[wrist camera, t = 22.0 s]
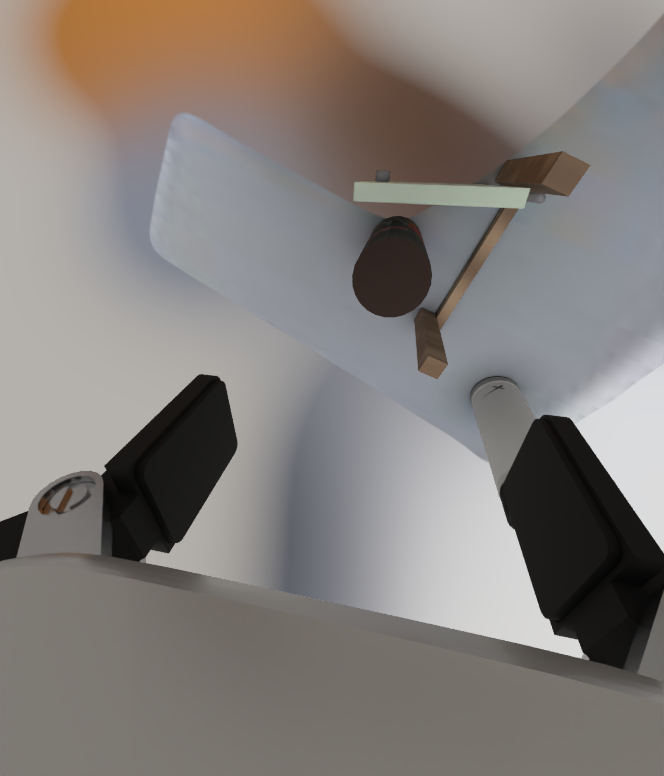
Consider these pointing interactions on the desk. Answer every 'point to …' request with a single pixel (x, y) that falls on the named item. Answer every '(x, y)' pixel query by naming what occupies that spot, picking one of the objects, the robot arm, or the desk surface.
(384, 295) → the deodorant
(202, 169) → the desk surface
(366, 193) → the door
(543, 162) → the door frame
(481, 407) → the travel mug
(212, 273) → the desk surface
